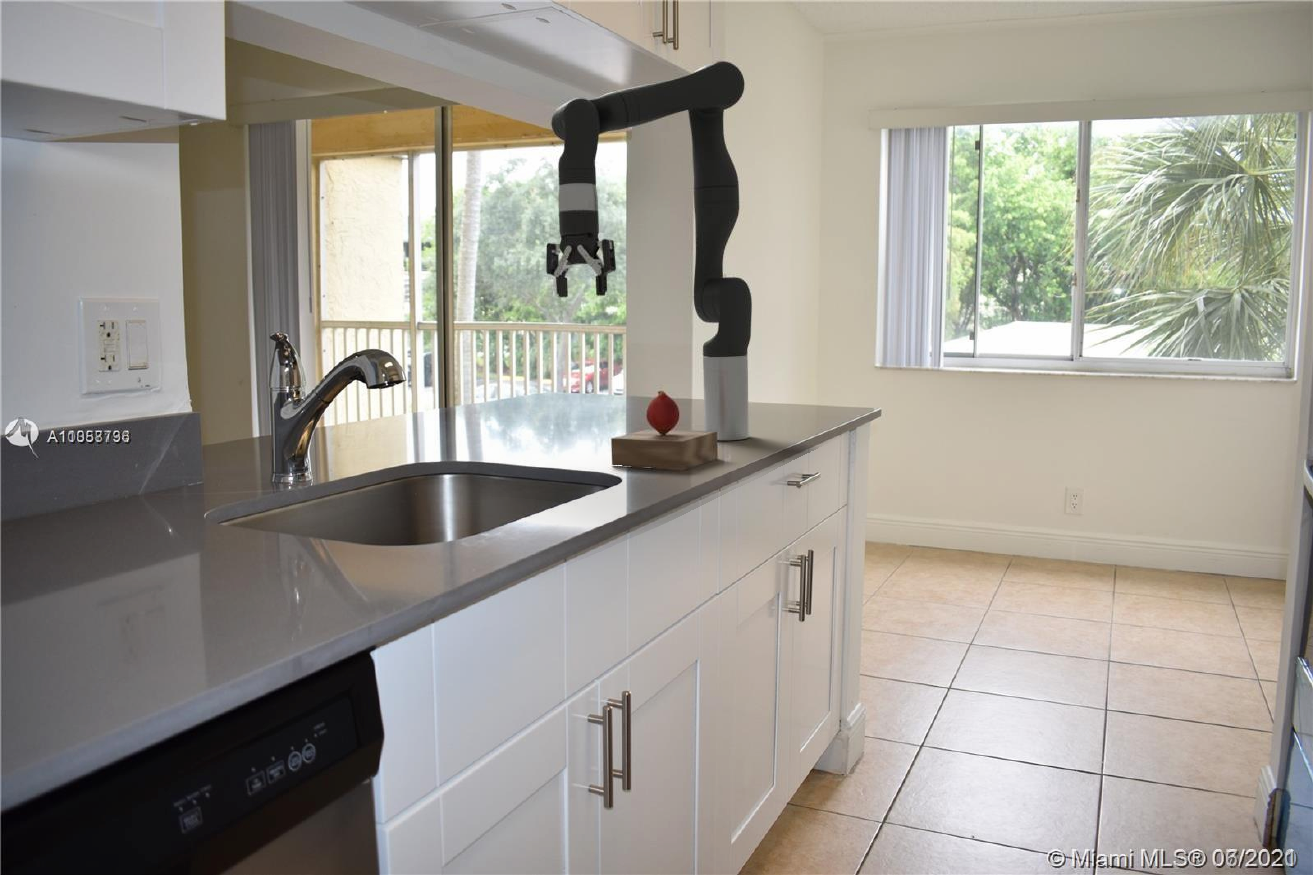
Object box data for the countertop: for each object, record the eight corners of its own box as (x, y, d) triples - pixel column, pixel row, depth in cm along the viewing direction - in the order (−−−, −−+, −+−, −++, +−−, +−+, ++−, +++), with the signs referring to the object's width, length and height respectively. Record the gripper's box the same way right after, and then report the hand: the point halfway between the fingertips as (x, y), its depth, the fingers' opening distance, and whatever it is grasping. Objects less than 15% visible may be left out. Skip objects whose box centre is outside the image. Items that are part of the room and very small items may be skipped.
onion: (665, 432, 182) (664, 388, 181) (686, 434, 178) (685, 389, 177) (640, 435, 178) (639, 390, 177) (661, 438, 174) (660, 392, 173)
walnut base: (650, 455, 188) (649, 428, 188) (717, 458, 182) (717, 431, 181) (612, 466, 176) (611, 438, 175) (682, 470, 169) (682, 441, 169)
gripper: (620, 208, 189) (623, 295, 191) (558, 214, 196) (561, 297, 198) (600, 205, 182) (603, 295, 184) (536, 211, 189) (539, 297, 191)
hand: (581, 296), depth 191 cm, fingers open, 8 cm apart
